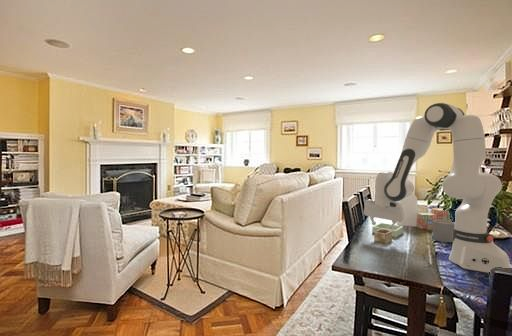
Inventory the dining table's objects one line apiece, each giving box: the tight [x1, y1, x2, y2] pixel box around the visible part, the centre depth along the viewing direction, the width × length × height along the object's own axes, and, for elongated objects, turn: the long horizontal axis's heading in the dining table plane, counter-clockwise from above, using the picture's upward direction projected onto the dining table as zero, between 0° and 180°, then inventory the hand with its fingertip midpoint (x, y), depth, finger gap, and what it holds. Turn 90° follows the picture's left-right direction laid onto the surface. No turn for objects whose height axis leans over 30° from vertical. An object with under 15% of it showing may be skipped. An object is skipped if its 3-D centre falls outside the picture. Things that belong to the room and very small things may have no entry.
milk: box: [395, 192, 419, 228], centre depth 188 cm, size 12×12×26 cm
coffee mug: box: [432, 220, 455, 243], centre depth 153 cm, size 13×10×10 cm
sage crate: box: [371, 222, 404, 239], centre depth 166 cm, size 13×13×4 cm
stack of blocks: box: [417, 207, 451, 230], centre depth 177 cm, size 21×6×12 cm, turn 89°
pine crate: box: [373, 229, 393, 244], centre depth 152 cm, size 6×9×5 cm, turn 136°
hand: (382, 226), depth 153 cm, fingers open, 8 cm apart
